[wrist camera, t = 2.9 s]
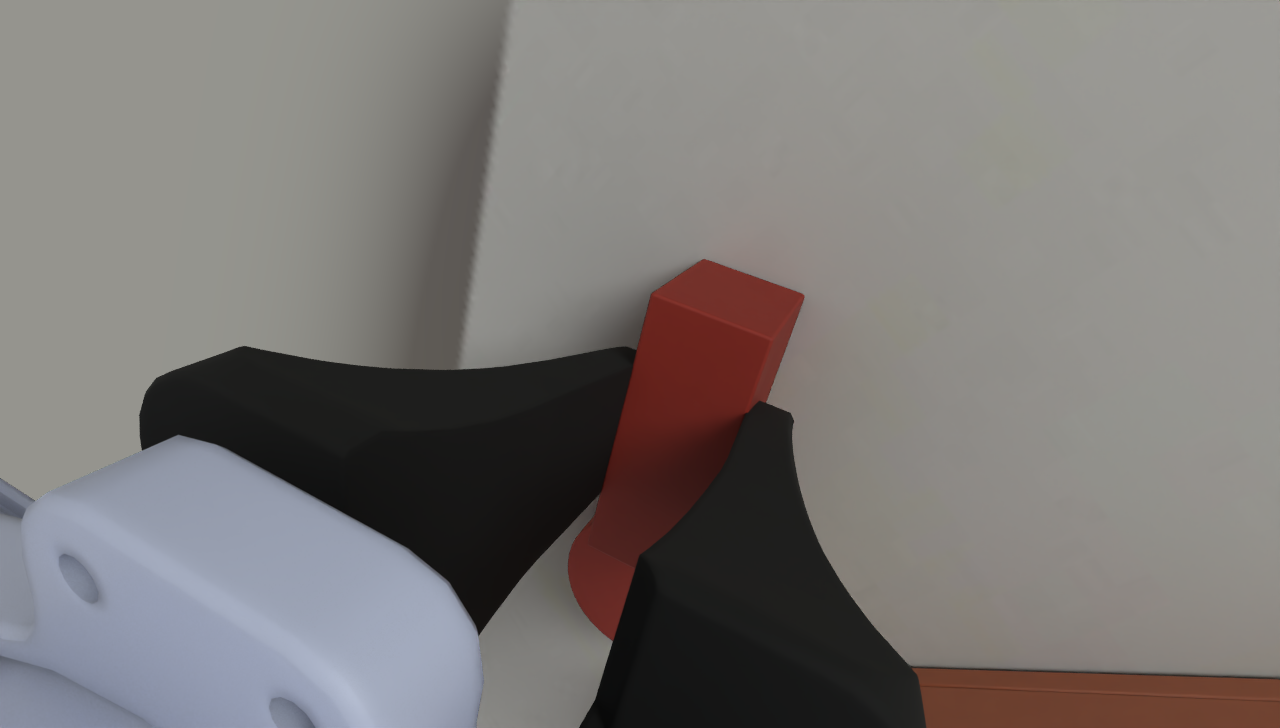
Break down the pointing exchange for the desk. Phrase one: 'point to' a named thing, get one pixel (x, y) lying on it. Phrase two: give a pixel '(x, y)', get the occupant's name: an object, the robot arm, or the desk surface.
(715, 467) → the red post on disc
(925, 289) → the desk surface
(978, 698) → the terracotta bin
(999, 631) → the desk surface
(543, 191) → the desk surface
